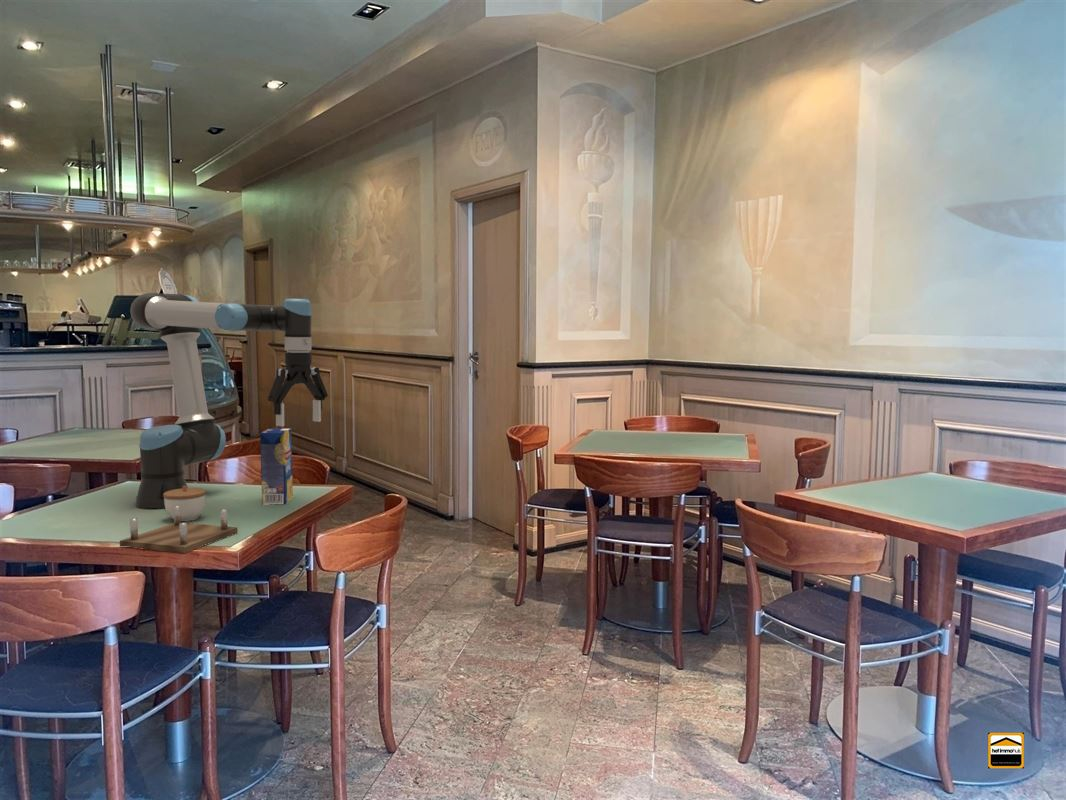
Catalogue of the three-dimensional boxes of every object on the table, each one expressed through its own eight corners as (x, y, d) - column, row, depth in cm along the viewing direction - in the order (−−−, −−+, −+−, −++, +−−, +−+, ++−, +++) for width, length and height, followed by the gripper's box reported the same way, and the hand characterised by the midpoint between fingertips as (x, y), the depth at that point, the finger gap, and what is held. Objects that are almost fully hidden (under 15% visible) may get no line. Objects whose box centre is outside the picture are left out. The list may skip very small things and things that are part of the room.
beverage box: (292, 497, 239) (291, 428, 237) (285, 504, 228) (283, 432, 226) (270, 497, 238) (268, 428, 236) (262, 505, 227) (260, 433, 225)
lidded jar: (176, 514, 215) (175, 482, 215) (213, 514, 215) (212, 482, 214) (156, 523, 205) (155, 489, 204) (195, 524, 204) (194, 490, 204)
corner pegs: (129, 539, 183) (128, 519, 183) (177, 523, 199) (176, 505, 198) (184, 544, 179) (183, 524, 178) (229, 528, 194) (228, 509, 194)
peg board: (119, 546, 182) (119, 540, 182) (176, 527, 200) (176, 522, 200) (185, 553, 177) (184, 547, 177) (237, 532, 195) (237, 527, 195)
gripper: (271, 352, 208) (272, 428, 210) (339, 351, 229) (339, 420, 231) (253, 352, 212) (255, 426, 214) (322, 350, 233) (322, 418, 235)
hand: (299, 423), depth 222 cm, fingers open, 13 cm apart
